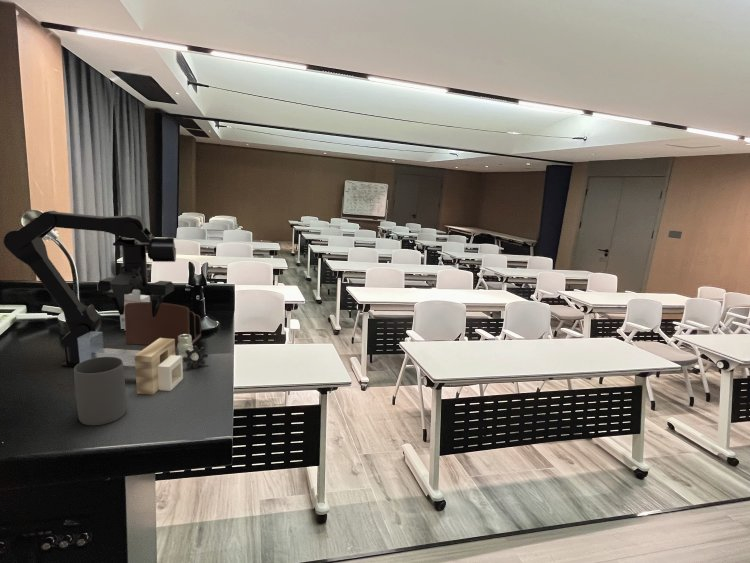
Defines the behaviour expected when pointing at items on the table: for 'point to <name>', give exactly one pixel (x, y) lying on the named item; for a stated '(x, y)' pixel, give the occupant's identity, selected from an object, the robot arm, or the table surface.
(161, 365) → the block
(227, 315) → the table surface
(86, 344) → the pale grey block
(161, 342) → the wooden block
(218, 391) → the table surface
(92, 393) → the mug
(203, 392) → the table surface
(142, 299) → the ink box
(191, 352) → the valve
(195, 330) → the letter holder
